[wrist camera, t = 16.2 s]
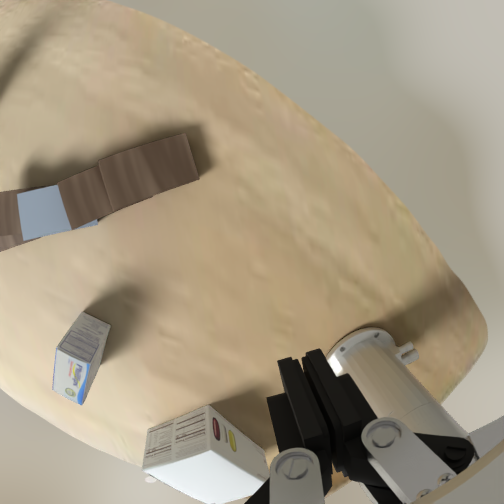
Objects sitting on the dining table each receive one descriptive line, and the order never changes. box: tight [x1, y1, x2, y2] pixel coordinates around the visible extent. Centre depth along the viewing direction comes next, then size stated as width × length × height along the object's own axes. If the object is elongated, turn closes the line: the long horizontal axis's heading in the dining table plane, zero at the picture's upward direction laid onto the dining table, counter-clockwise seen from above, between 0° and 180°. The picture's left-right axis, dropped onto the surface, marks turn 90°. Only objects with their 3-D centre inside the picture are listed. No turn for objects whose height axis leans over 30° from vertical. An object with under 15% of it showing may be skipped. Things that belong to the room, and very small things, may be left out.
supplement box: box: [142, 405, 270, 504], centre depth 36 cm, size 17×13×9 cm
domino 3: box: [17, 185, 98, 241], centre depth 25 cm, size 2×5×9 cm
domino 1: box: [0, 185, 54, 236], centre depth 24 cm, size 2×5×9 cm
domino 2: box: [0, 234, 41, 252], centre depth 26 cm, size 2×5×9 cm
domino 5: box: [98, 133, 199, 211], centre depth 26 cm, size 2×5×9 cm
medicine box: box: [53, 312, 111, 405], centre depth 28 cm, size 8×4×9 cm, turn 152°
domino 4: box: [57, 165, 153, 230], centre depth 26 cm, size 2×5×9 cm
